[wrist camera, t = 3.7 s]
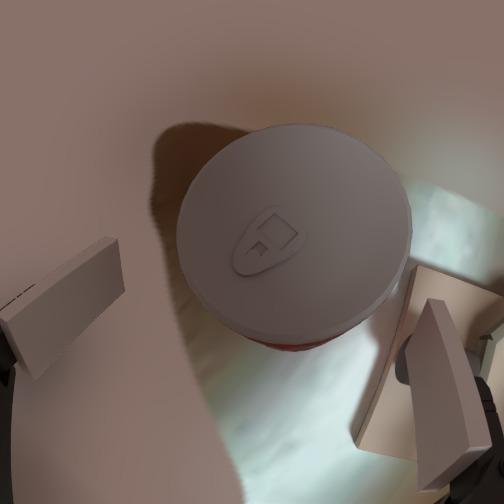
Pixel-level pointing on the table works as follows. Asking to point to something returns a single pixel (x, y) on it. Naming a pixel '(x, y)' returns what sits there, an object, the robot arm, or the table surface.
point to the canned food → (294, 234)
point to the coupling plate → (396, 372)
